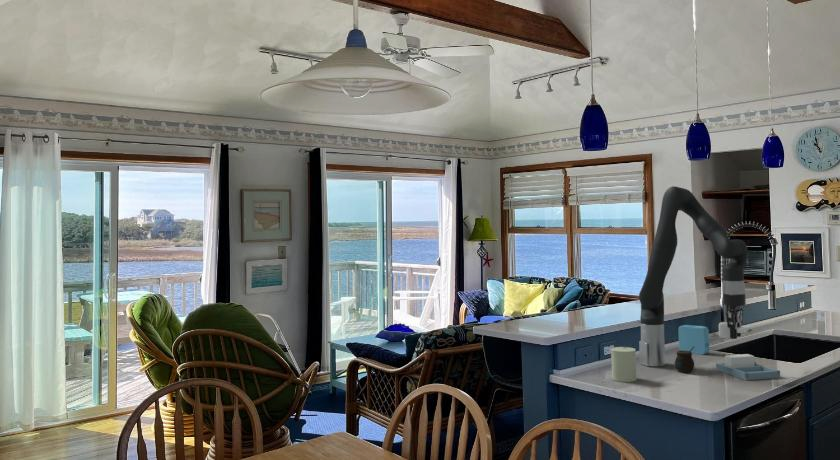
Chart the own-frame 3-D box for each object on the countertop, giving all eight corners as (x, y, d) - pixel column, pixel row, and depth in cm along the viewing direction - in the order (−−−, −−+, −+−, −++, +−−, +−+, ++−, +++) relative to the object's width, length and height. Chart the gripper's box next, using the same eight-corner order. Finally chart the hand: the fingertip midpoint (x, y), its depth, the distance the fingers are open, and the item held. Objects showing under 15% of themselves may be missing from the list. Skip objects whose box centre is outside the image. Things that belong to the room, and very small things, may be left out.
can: (637, 377, 245) (636, 346, 245) (635, 382, 237) (634, 350, 237) (613, 375, 249) (612, 345, 249) (610, 381, 241) (609, 349, 241)
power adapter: (753, 338, 237) (752, 323, 237) (751, 340, 233) (750, 325, 233) (721, 336, 244) (720, 321, 244) (718, 338, 240) (717, 323, 240)
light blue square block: (709, 353, 283) (708, 326, 283) (705, 355, 280) (704, 328, 280) (683, 350, 292) (682, 324, 292) (678, 351, 289) (678, 325, 289)
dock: (746, 380, 235) (745, 364, 235) (716, 369, 253) (715, 354, 253) (780, 377, 237) (779, 361, 237) (747, 367, 255) (747, 352, 255)
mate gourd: (671, 370, 255) (670, 345, 255) (689, 369, 256) (688, 344, 256) (680, 374, 248) (679, 348, 248) (698, 373, 248) (698, 347, 248)
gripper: (728, 290, 246) (730, 333, 246) (717, 294, 235) (719, 339, 235) (749, 290, 241) (751, 335, 241) (739, 295, 230) (741, 341, 231)
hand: (735, 337), depth 238 cm, fingers closed on power adapter, 5 cm apart
